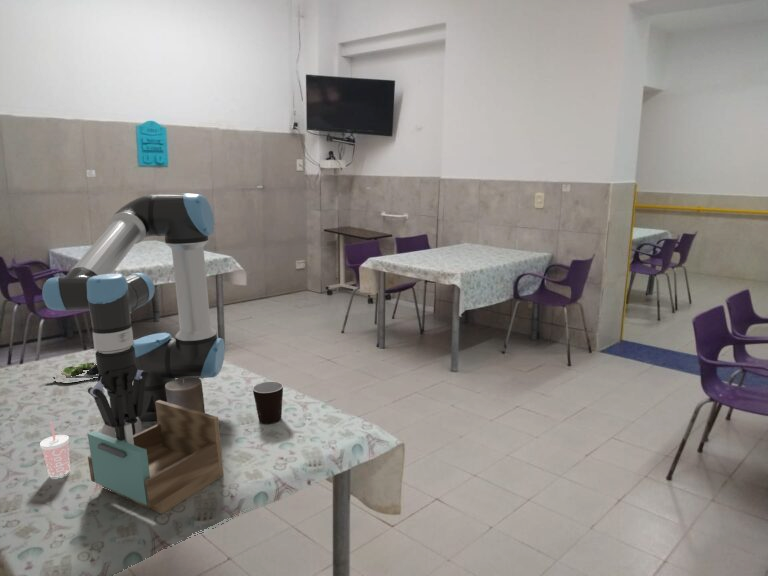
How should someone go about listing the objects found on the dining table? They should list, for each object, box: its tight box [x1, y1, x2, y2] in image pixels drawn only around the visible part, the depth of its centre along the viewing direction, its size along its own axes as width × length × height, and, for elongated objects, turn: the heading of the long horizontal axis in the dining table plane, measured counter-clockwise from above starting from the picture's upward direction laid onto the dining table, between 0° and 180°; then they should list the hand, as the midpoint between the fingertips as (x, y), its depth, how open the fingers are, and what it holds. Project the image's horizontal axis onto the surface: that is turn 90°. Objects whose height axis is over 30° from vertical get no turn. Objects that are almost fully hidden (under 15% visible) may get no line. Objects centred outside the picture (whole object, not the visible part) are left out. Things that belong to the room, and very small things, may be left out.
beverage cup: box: [39, 420, 71, 477], centre depth 136 cm, size 6×6×14 cm
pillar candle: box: [165, 377, 206, 413], centre depth 159 cm, size 10×10×15 cm
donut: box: [100, 417, 143, 439], centre depth 149 cm, size 10×4×10 cm, turn 129°
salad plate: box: [61, 362, 99, 378], centre depth 202 cm, size 19×18×5 cm
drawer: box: [87, 400, 224, 515], centre depth 131 cm, size 21×20×15 cm
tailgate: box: [87, 430, 150, 505], centre depth 122 cm, size 18×3×12 cm, turn 59°
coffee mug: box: [252, 380, 284, 425], centre depth 165 cm, size 12×9×10 cm
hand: (128, 451), depth 124 cm, fingers closed
